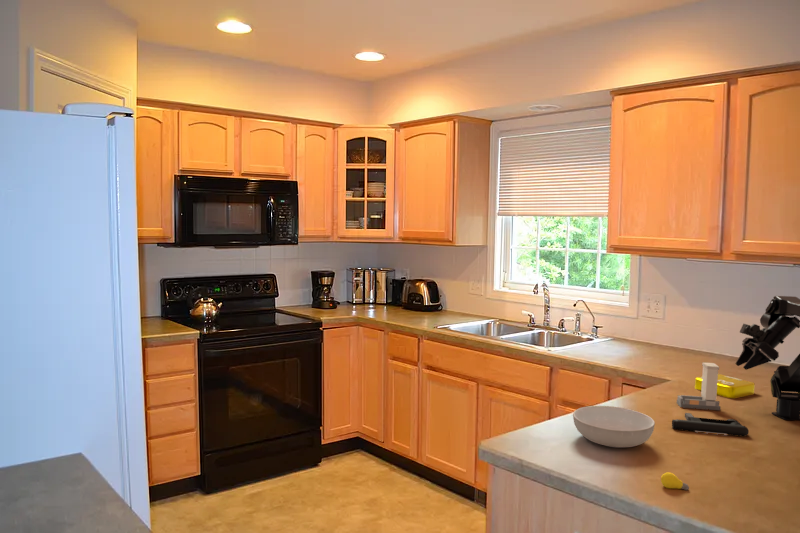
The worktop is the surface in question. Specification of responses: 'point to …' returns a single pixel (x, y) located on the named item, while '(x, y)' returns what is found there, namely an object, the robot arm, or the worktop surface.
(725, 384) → the element tile
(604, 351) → the worktop surface
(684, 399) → the switch base
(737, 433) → the door handle
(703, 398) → the tall lidded box
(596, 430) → the serving bowl
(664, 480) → the light bulb
